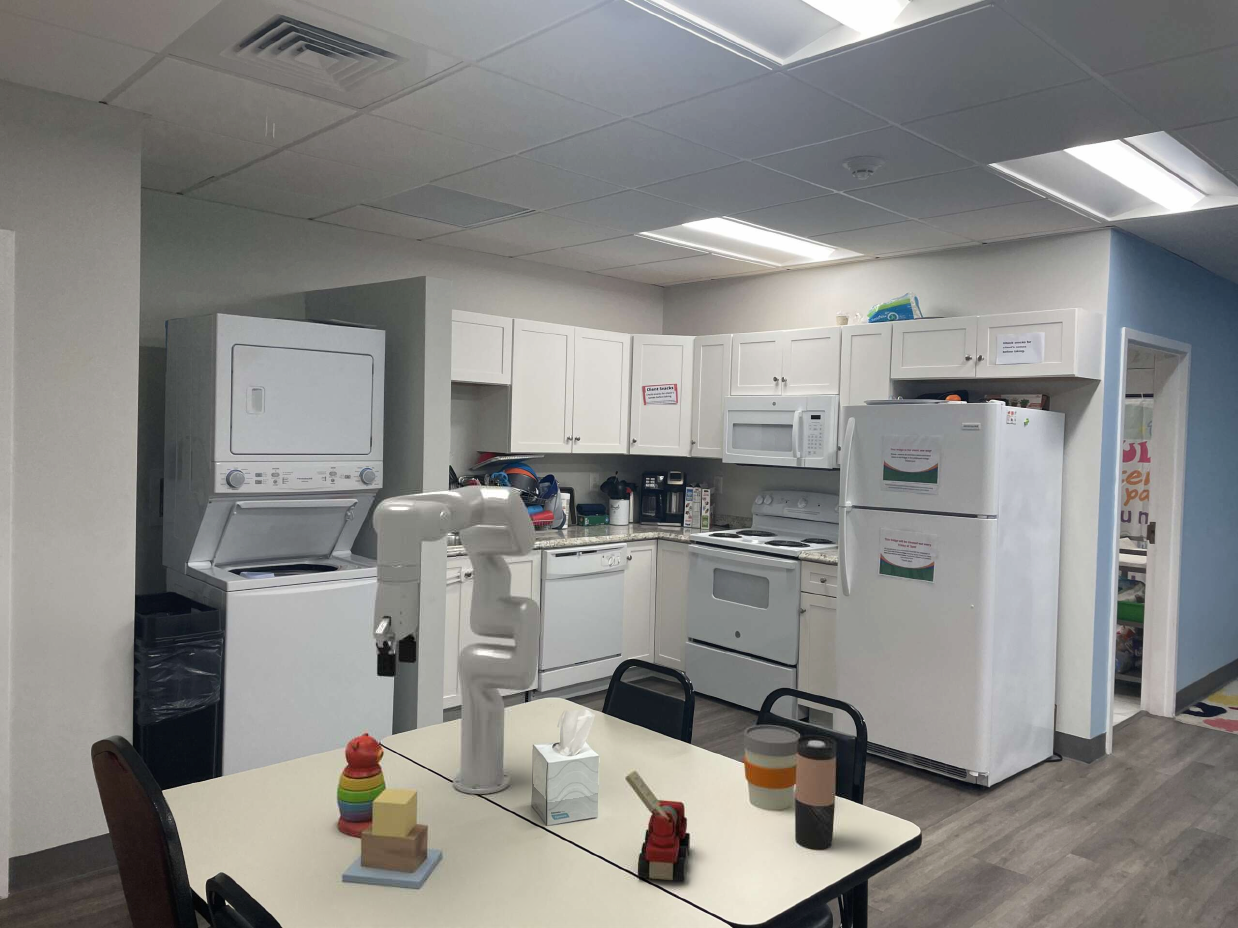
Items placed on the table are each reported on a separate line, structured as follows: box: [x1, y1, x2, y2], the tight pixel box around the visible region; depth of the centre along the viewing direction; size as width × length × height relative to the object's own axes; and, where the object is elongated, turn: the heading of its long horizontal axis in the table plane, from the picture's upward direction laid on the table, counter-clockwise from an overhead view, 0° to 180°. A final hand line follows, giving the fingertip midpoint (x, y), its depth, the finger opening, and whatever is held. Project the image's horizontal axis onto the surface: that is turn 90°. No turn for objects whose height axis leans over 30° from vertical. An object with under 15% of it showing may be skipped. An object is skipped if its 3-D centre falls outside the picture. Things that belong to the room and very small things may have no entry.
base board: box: [341, 848, 444, 890], centre depth 163 cm, size 12×14×1 cm
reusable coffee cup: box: [742, 724, 801, 811], centre depth 197 cm, size 13×13×15 cm
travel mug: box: [794, 734, 837, 851], centre depth 178 cm, size 8×8×20 cm
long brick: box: [360, 823, 429, 873], centre depth 163 cm, size 6×10×6 cm, turn 78°
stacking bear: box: [336, 732, 387, 838], centre depth 180 cm, size 11×10×18 cm
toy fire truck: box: [624, 770, 691, 882], centre depth 167 cm, size 11×16×18 cm
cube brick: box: [372, 788, 418, 838], centre depth 163 cm, size 6×6×6 cm
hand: (397, 668), depth 162 cm, fingers open, 9 cm apart
